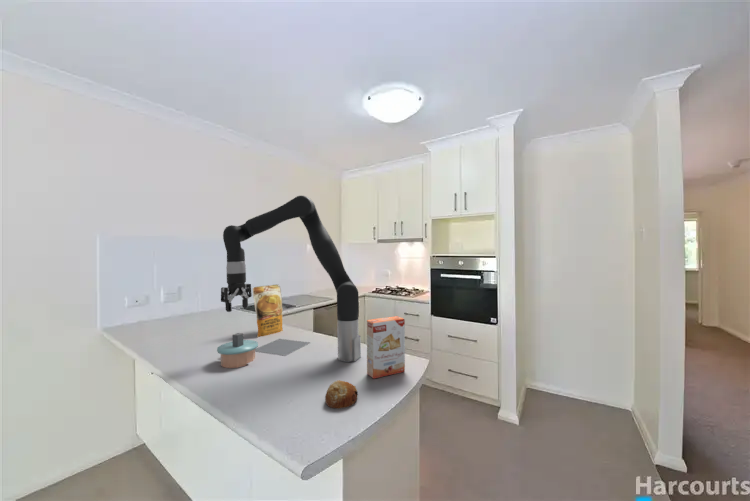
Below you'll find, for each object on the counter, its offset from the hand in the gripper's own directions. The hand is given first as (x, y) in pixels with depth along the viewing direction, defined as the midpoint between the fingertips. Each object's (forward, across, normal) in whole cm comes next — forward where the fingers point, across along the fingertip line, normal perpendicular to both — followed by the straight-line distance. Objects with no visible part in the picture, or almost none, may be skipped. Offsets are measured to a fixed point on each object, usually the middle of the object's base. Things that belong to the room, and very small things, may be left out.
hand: (237, 309), depth 129 cm
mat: (+23, +21, -6) cm, 31 cm away
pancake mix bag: (+23, +38, +17) cm, 47 cm away
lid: (+17, 0, 0) cm, 17 cm away
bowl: (+23, 0, 0) cm, 23 cm away
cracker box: (+23, +11, -64) cm, 69 cm away
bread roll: (+23, -14, -58) cm, 64 cm away
